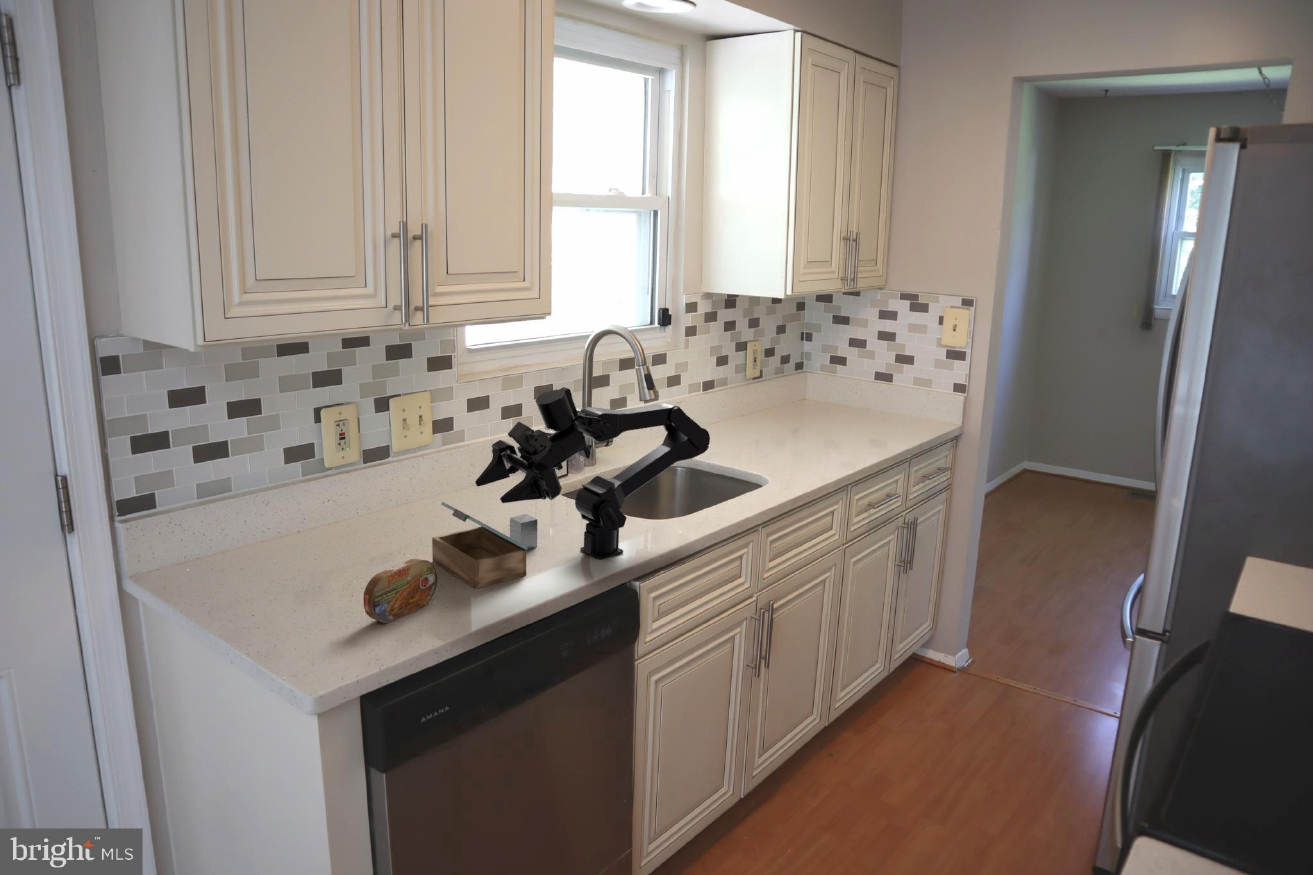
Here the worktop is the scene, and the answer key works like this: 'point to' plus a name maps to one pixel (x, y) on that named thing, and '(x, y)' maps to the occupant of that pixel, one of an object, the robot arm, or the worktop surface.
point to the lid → (464, 517)
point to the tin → (400, 590)
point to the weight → (524, 530)
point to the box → (479, 556)
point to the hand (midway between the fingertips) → (488, 492)
